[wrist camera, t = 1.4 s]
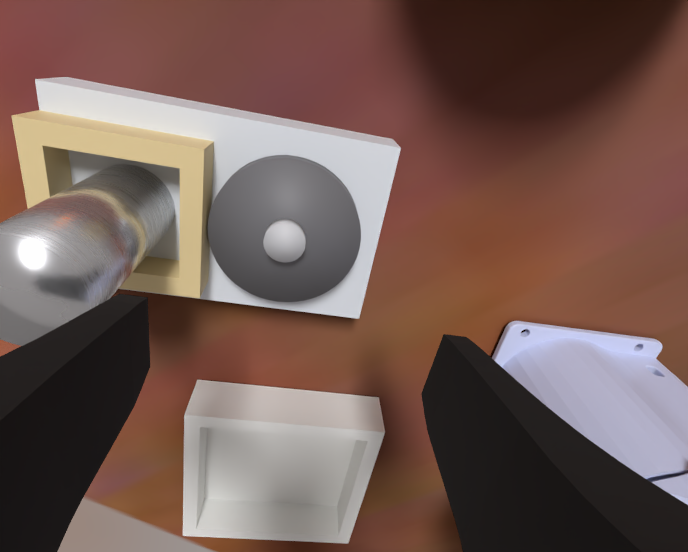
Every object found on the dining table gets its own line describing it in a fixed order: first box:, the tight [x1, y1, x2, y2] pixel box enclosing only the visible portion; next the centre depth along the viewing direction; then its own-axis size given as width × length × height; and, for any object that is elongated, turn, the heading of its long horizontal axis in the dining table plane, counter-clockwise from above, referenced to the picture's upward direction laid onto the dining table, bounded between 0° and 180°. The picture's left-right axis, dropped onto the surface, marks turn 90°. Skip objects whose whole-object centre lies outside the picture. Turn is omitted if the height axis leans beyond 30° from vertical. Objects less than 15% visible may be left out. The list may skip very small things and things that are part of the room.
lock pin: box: [0, 164, 175, 346], centre depth 13 cm, size 3×3×7 cm
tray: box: [183, 380, 385, 544], centre depth 25 cm, size 11×11×3 cm
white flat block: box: [12, 77, 401, 319], centre depth 17 cm, size 13×8×4 cm, turn 79°
